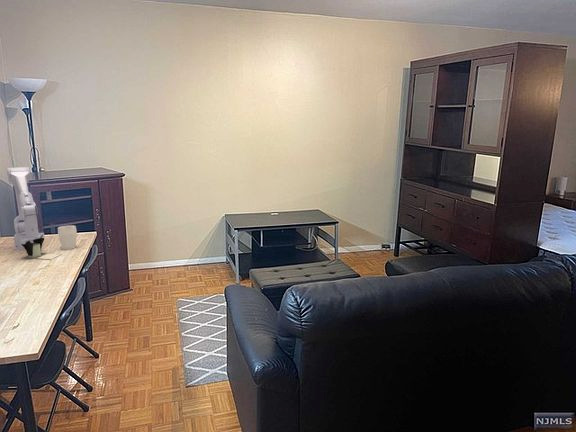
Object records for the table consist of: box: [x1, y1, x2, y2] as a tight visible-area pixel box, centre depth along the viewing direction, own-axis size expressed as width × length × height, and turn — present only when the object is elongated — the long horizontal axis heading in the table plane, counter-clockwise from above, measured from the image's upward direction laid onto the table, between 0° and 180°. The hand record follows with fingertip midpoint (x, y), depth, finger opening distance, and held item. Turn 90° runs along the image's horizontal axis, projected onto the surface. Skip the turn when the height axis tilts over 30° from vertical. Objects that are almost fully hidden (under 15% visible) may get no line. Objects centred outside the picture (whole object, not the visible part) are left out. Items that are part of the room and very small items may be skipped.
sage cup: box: [29, 243, 42, 258], centre depth 216 cm, size 5×5×6 cm
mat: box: [22, 252, 63, 261], centre depth 216 cm, size 16×9×1 cm, turn 83°
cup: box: [57, 224, 78, 250], centre depth 230 cm, size 9×9×12 cm
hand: (34, 253), depth 216 cm, fingers closed on sage cup, 5 cm apart
